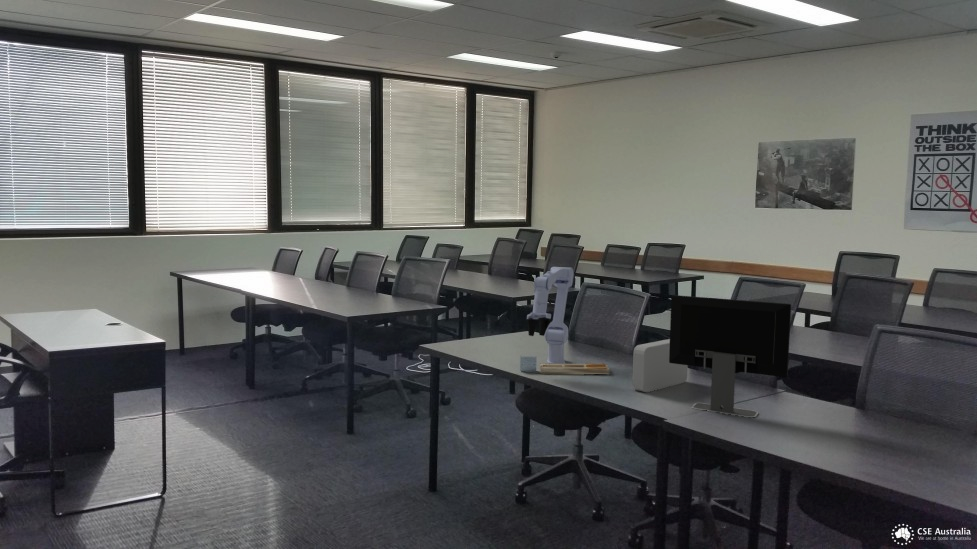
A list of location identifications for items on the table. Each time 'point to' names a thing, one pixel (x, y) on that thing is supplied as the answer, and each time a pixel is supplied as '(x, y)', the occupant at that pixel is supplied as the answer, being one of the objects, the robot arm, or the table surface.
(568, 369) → the rack
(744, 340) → the computer monitor
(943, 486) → the table surface
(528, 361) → the brushed gray metal block
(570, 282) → the robot arm
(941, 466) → the table surface
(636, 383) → the rounded white slab
